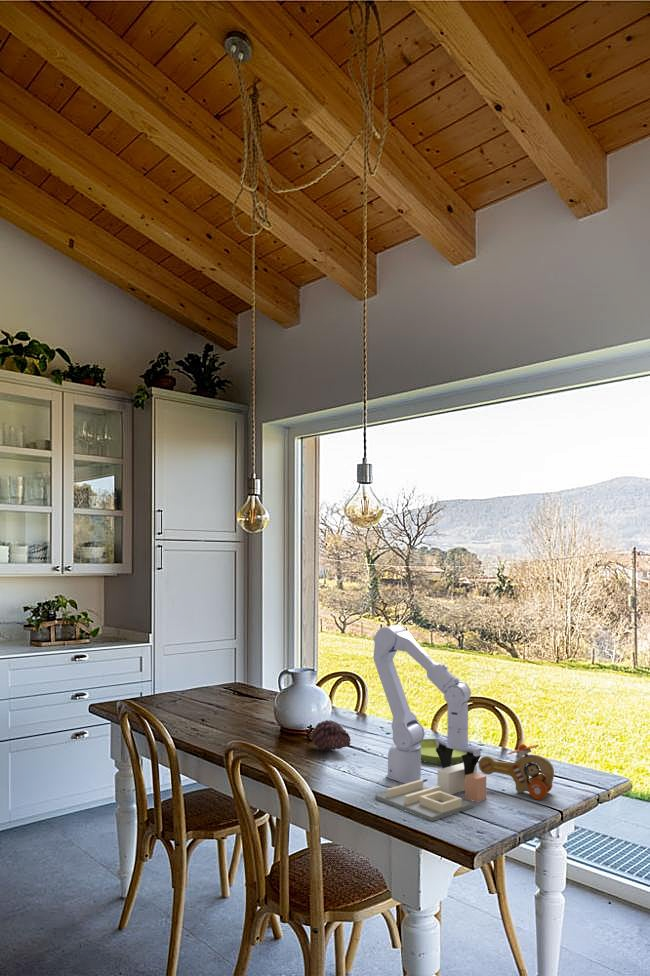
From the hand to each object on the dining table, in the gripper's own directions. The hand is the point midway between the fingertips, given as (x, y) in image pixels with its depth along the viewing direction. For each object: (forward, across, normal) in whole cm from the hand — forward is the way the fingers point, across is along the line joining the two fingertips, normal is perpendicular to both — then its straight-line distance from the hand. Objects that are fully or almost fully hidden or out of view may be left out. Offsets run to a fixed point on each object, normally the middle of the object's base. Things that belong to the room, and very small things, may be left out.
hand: (457, 776), depth 209 cm
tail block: (+3, +8, -2) cm, 9 cm away
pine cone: (+3, -49, -5) cm, 49 cm away
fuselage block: (+3, 0, 0) cm, 4 cm away
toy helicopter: (+4, +12, +12) cm, 17 cm away
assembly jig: (+3, +2, -16) cm, 16 cm away
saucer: (+4, -24, +20) cm, 32 cm away
